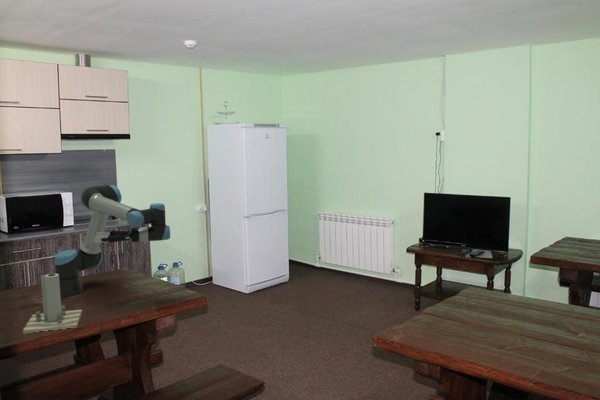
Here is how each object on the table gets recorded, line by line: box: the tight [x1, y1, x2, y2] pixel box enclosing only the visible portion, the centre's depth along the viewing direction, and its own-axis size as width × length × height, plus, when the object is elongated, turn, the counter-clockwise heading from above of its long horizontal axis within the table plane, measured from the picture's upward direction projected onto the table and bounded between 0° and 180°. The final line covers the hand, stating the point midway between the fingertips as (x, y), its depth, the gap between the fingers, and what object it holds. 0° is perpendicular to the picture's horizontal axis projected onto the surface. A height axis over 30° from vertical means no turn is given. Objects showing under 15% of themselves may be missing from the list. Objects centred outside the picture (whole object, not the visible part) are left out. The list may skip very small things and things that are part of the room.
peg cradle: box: [22, 304, 83, 335], centre depth 238 cm, size 22×22×6 cm
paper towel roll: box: [40, 273, 62, 321], centre depth 237 cm, size 7×6×21 cm
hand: (95, 237), depth 256 cm, fingers open, 13 cm apart
